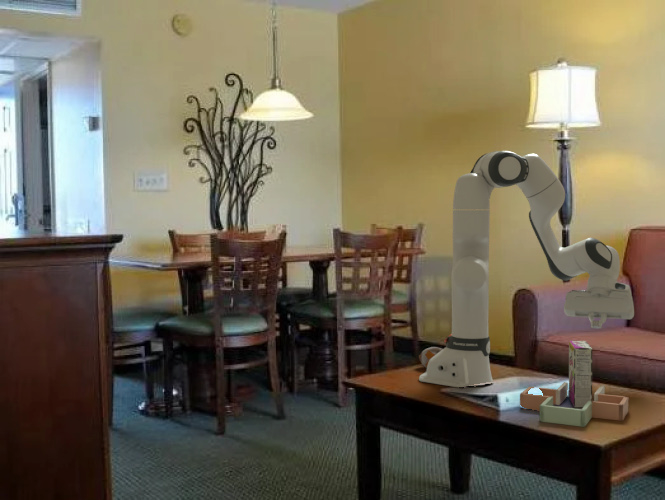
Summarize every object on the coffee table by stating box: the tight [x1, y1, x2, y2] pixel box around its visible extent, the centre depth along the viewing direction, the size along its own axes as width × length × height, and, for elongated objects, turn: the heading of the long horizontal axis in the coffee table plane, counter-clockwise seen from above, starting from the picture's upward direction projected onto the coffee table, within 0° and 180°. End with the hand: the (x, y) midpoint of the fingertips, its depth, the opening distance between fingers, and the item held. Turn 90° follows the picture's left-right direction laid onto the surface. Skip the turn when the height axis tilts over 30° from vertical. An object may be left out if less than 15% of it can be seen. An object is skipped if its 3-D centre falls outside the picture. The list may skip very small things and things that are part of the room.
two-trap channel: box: [519, 381, 629, 428], centre depth 210 cm, size 26×30×4 cm
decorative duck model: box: [418, 346, 444, 369], centre depth 264 cm, size 15×8×15 cm
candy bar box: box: [568, 340, 593, 409], centre depth 217 cm, size 11×5×16 cm, turn 171°
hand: (595, 327), depth 237 cm, fingers closed
